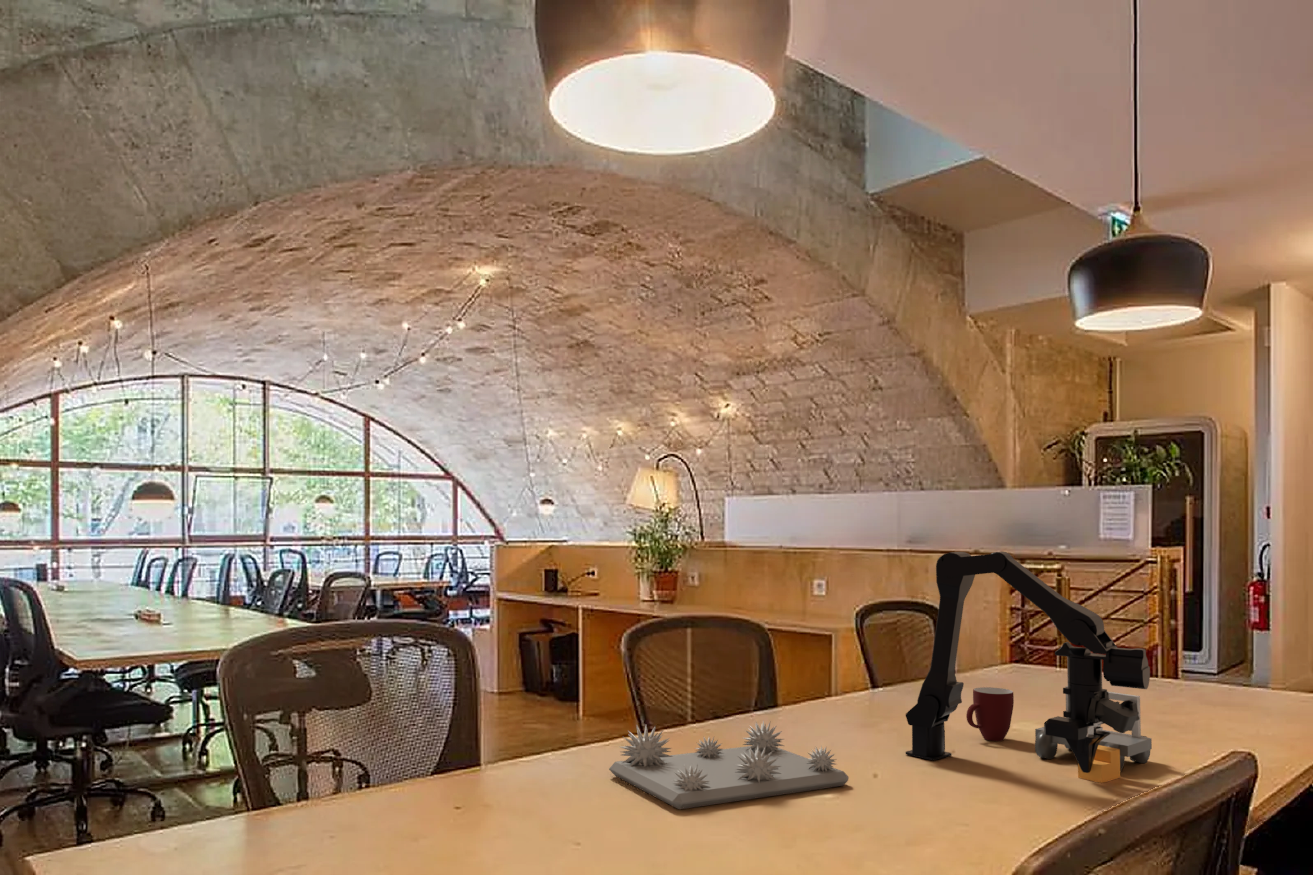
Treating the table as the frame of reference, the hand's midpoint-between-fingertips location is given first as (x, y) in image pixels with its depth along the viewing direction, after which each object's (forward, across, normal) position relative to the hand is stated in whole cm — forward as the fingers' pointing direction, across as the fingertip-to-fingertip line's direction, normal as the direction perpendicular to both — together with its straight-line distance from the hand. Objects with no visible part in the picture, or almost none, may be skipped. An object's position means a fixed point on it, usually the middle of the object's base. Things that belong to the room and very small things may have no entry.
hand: (1086, 772), depth 182 cm
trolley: (+2, +16, +7) cm, 17 cm away
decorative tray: (+2, -50, +40) cm, 64 cm away
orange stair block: (+2, +4, 0) cm, 5 cm away
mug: (+2, +16, +29) cm, 33 cm away
